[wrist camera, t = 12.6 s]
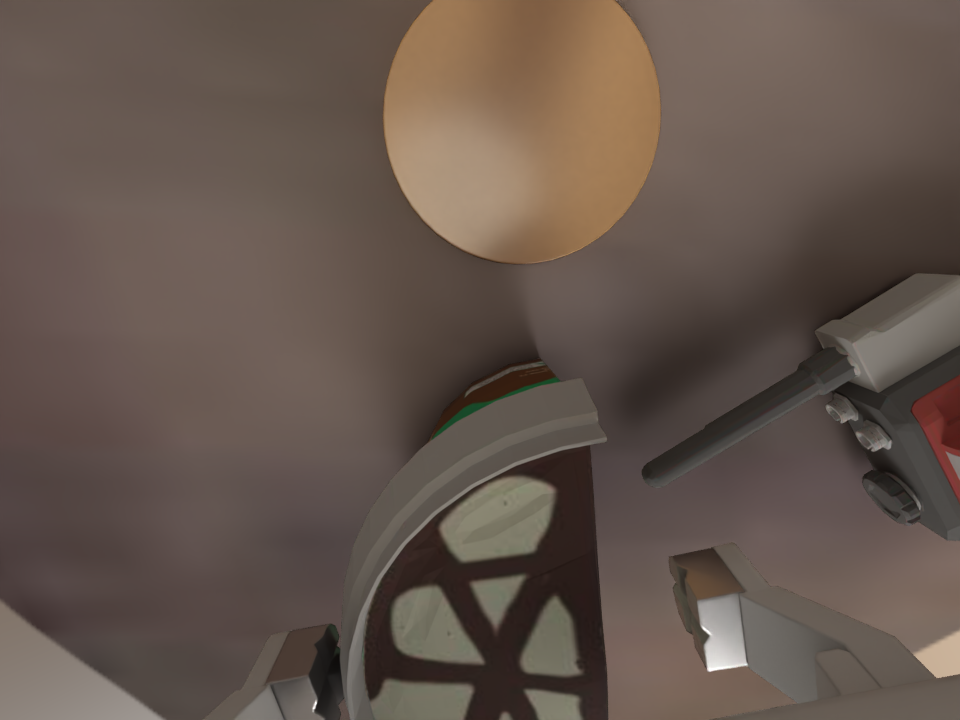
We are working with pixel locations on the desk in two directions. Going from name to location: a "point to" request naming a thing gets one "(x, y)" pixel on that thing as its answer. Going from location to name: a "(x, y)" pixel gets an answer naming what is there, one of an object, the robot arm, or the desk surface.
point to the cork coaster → (521, 123)
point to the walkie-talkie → (872, 402)
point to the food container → (483, 565)
